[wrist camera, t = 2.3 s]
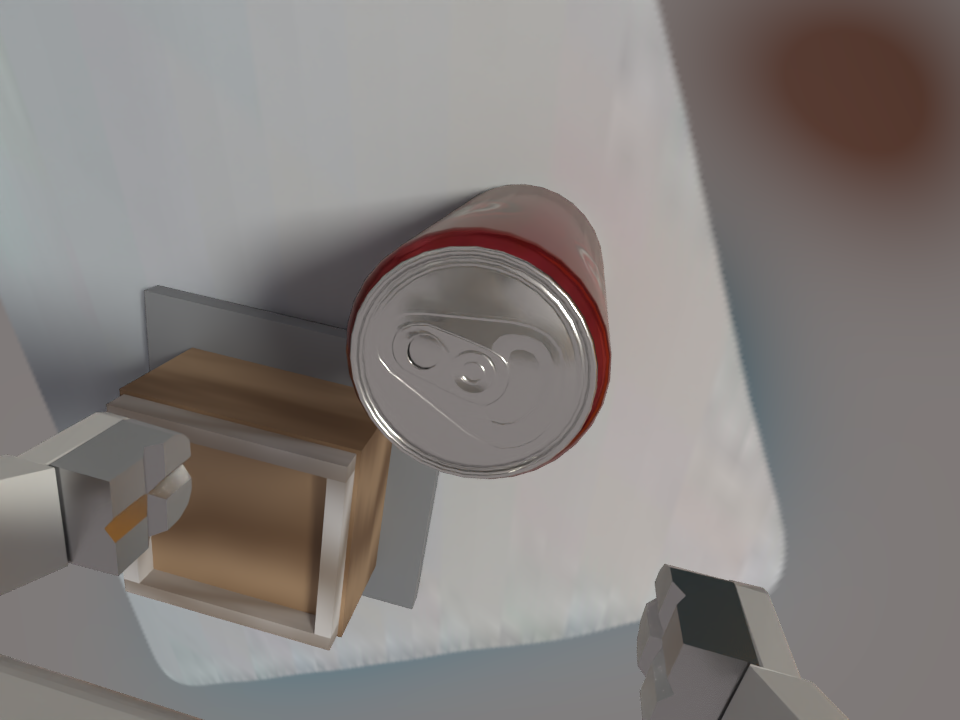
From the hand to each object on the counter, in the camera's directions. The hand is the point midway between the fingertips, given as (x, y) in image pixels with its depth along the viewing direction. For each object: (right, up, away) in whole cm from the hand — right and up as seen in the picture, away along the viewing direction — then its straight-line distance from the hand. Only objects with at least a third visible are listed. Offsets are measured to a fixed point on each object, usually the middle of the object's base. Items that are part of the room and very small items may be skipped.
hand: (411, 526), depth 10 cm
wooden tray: (-9, -3, +22) cm, 24 cm away
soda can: (+3, +7, +16) cm, 18 cm away
